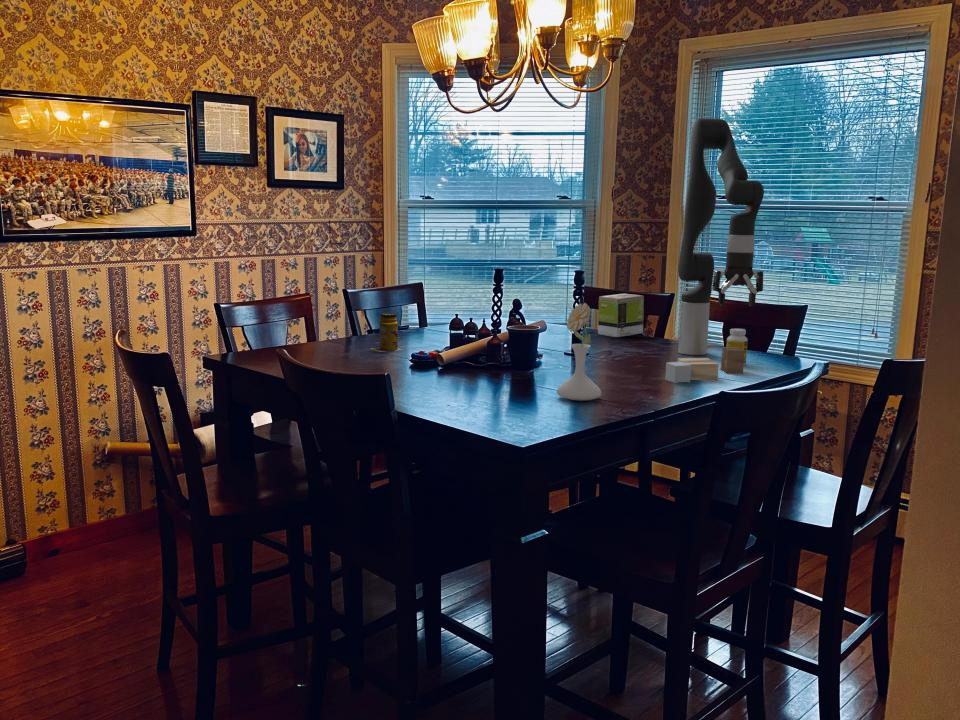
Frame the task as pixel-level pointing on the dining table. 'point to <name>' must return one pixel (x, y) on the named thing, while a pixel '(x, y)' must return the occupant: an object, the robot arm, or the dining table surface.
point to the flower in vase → (579, 360)
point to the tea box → (620, 315)
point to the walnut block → (732, 360)
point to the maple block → (702, 368)
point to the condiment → (388, 333)
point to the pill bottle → (738, 340)
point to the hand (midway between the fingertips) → (736, 306)
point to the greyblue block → (678, 372)
